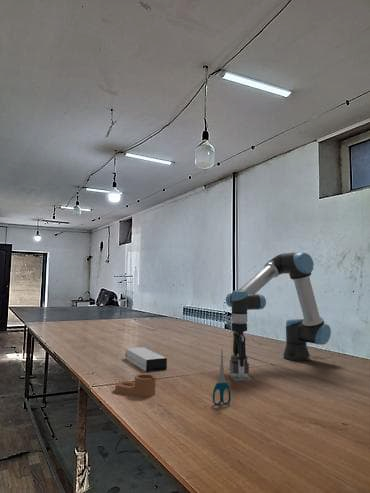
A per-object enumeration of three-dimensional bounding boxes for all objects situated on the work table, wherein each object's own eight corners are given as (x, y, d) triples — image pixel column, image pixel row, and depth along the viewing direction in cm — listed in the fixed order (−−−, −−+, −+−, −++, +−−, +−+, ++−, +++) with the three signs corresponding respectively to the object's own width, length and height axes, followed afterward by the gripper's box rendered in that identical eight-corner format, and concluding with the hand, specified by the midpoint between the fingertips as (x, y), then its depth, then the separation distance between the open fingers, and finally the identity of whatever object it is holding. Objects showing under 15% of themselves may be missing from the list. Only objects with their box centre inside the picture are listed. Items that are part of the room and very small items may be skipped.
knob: (229, 369, 178) (229, 353, 179) (244, 369, 179) (244, 353, 180) (232, 373, 170) (233, 356, 171) (249, 373, 171) (249, 356, 172)
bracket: (159, 393, 149) (159, 375, 150) (147, 398, 142) (148, 380, 143) (123, 386, 158) (123, 370, 158) (111, 391, 150) (111, 374, 151)
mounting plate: (244, 374, 181) (244, 363, 181) (250, 380, 169) (250, 369, 169) (228, 374, 180) (228, 363, 180) (233, 380, 168) (233, 369, 169)
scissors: (213, 405, 135) (214, 350, 137) (212, 404, 136) (213, 349, 138) (230, 404, 137) (230, 349, 138) (229, 403, 138) (229, 348, 139)
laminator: (166, 370, 188) (167, 358, 188) (144, 372, 182) (144, 360, 183) (143, 357, 218) (143, 346, 218) (123, 359, 212) (123, 348, 213)
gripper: (227, 320, 187) (226, 366, 185) (236, 325, 166) (236, 376, 164) (241, 320, 187) (241, 366, 185) (253, 325, 167) (252, 376, 165)
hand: (239, 371), depth 175 cm, fingers closed on knob, 8 cm apart
